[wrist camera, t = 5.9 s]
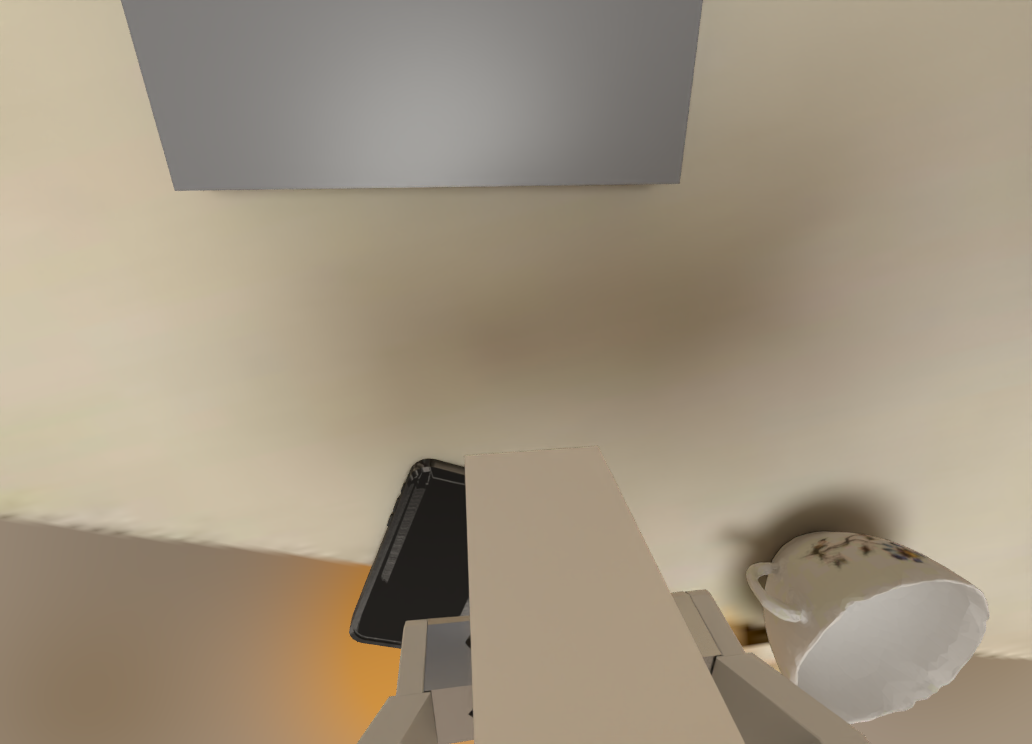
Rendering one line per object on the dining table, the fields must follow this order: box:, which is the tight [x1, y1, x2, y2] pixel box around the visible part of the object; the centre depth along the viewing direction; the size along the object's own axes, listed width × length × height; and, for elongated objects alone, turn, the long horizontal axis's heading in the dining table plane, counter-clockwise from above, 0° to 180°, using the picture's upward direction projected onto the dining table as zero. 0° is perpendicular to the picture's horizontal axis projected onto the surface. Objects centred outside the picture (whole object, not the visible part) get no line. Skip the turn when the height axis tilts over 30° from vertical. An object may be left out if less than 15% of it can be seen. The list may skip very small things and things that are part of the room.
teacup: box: [746, 531, 989, 724], centre depth 32 cm, size 15×12×8 cm
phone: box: [349, 459, 470, 649], centre depth 31 cm, size 8×1×15 cm
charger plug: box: [465, 446, 745, 744], centre depth 11 cm, size 4×4×10 cm
